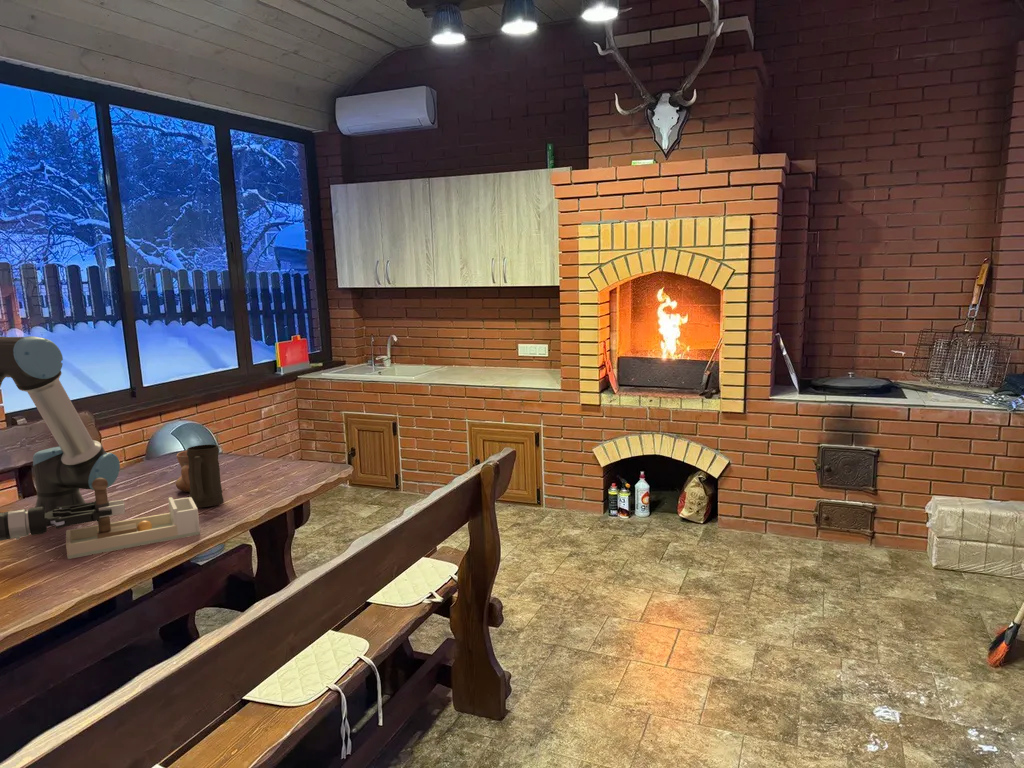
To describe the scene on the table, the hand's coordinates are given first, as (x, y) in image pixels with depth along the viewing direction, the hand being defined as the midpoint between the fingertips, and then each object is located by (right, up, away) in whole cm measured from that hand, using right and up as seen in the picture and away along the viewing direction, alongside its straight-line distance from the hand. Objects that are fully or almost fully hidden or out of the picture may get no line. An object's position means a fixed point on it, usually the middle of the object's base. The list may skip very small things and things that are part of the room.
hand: (124, 506), depth 209 cm
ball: (+4, -7, +4) cm, 9 cm away
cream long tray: (+2, -10, +3) cm, 11 cm away
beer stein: (+10, -6, +32) cm, 35 cm away
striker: (-2, -9, +1) cm, 10 cm away
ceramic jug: (-1, -3, +50) cm, 50 cm away
